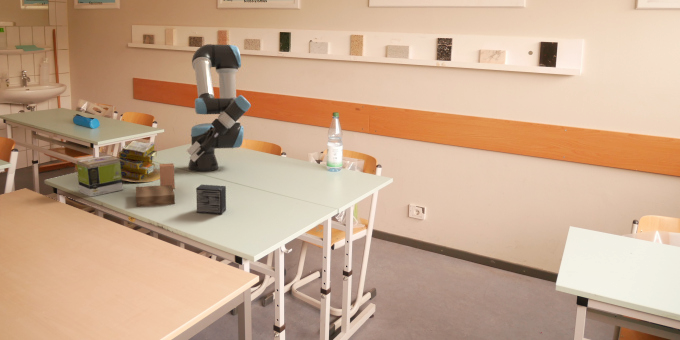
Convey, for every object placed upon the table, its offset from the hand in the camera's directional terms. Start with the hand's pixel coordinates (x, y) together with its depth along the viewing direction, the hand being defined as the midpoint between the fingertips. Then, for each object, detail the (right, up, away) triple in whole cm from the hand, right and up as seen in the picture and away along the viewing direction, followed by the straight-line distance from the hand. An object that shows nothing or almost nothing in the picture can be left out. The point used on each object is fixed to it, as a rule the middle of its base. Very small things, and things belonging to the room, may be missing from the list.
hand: (190, 156), depth 247 cm
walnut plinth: (-10, -19, -17) cm, 27 cm away
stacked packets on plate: (-31, -10, +16) cm, 36 cm away
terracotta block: (-10, -15, 0) cm, 18 cm away
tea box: (-37, -16, -9) cm, 41 cm away
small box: (+17, -23, -28) cm, 40 cm away
